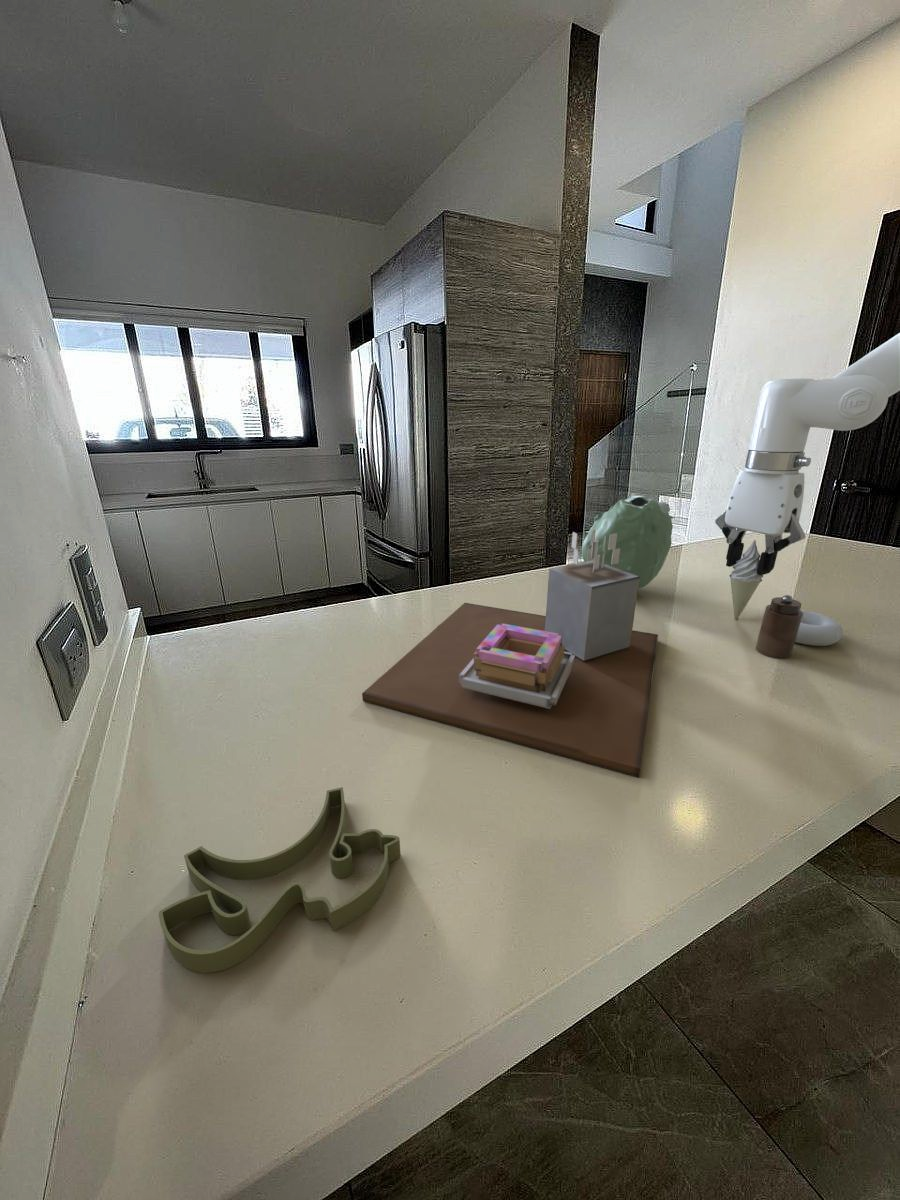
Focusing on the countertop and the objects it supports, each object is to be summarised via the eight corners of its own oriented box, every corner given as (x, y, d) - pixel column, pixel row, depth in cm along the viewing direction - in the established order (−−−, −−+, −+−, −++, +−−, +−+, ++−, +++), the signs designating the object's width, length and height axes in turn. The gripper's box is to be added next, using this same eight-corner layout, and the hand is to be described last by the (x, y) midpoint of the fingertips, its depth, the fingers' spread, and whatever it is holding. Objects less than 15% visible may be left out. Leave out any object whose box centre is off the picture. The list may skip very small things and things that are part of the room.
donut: (779, 619, 88) (758, 634, 82) (784, 602, 87) (763, 615, 81) (846, 638, 81) (829, 655, 75) (852, 619, 79) (836, 635, 73)
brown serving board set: (638, 777, 51) (668, 612, 44) (362, 700, 64) (350, 565, 57) (656, 640, 80) (676, 528, 73) (464, 608, 94) (465, 511, 87)
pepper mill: (787, 647, 77) (803, 592, 74) (793, 661, 73) (811, 603, 70) (753, 642, 79) (767, 588, 76) (757, 655, 75) (772, 598, 72)
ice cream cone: (757, 620, 87) (778, 540, 81) (741, 627, 85) (761, 544, 79) (730, 611, 91) (748, 534, 86) (714, 617, 89) (731, 538, 83)
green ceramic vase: (561, 587, 104) (569, 494, 97) (620, 572, 113) (631, 486, 106) (620, 611, 92) (634, 506, 84) (680, 591, 101) (697, 496, 94)
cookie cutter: (360, 792, 49) (358, 776, 48) (418, 882, 40) (417, 864, 39) (160, 881, 40) (154, 864, 39) (174, 1024, 31) (166, 1005, 30)
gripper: (844, 466, 72) (811, 579, 79) (735, 457, 86) (715, 554, 93) (819, 469, 69) (787, 587, 76) (709, 459, 83) (690, 560, 89)
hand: (747, 568), depth 84 cm, fingers closed on ice cream cone, 4 cm apart
